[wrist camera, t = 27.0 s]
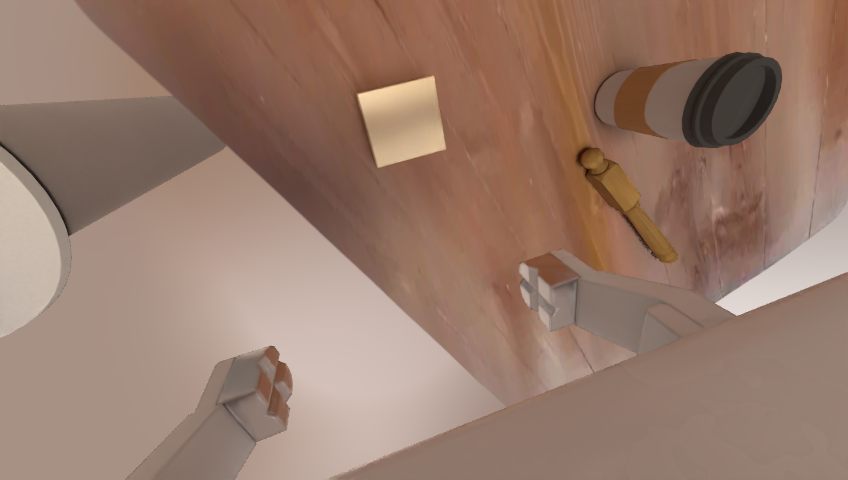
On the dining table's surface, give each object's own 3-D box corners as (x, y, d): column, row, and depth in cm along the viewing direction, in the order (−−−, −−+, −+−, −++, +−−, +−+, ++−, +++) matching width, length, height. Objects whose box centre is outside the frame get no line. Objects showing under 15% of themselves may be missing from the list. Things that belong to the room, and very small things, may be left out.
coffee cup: (652, 69, 40) (804, 61, 27) (624, 136, 43) (748, 157, 30) (602, 55, 37) (744, 38, 24) (577, 126, 41) (690, 144, 28)
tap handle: (669, 267, 54) (587, 164, 40) (654, 259, 57) (571, 159, 43) (683, 254, 53) (604, 145, 39) (667, 246, 56) (587, 141, 42)
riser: (438, 144, 37) (446, 149, 35) (374, 162, 36) (378, 168, 34) (426, 76, 34) (434, 75, 31) (355, 93, 33) (357, 94, 30)
